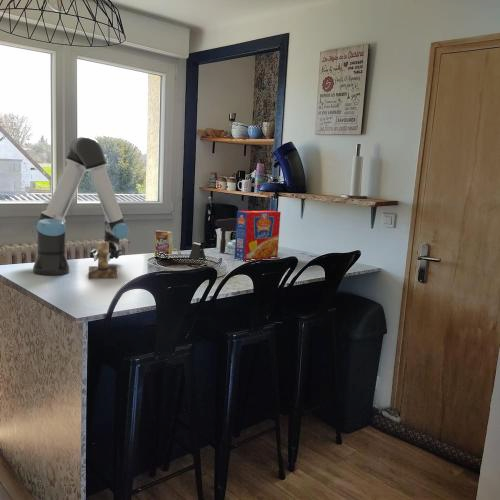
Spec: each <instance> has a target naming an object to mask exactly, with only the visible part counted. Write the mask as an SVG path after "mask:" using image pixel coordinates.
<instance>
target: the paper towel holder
mask: <svg viewBox="0 0 500 500" xmlns="http://www.w3.org/2000/svg"><path fill="white" fill-rule="evenodd" d="M236 223H237V217H236V218H231V217H230V218H225V219H216V220H215V223H214V225H215V226H216V227H220V232H221V236H220V237H221V239H220V242H219V244H220V245H219V253H220V252H223V253H222V254H225V253H226V251H227V250H231V251H235V240H236V239H233V240H229V241H228V242H227V244H226V233H227V232H236ZM226 247H227V248H226ZM226 249H227V250H226ZM231 251H230V252H231ZM224 252H225V253H224Z"/></svg>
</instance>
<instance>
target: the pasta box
mask: <svg viewBox="0 0 500 500" xmlns="http://www.w3.org/2000/svg"><path fill="white" fill-rule="evenodd" d="M281 213H282V212H281V211H276V210H237V211H236V218H237V223H236V231H235V239H234V240H235V252H234V258H233V259H234V260H235V259H238V260H237V261H239V260H243V261H246V260H251V259H255V261H259V260H258V259H264V260H271V259H270V258H271V257H277V258H278V255H279V253H278V252H279V240H280V239H279V238H280V229H281V228H280V227H281V226H280V225H281ZM243 261H242V262H243ZM246 262H247V261H246Z"/></svg>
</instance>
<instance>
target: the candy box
mask: <svg viewBox="0 0 500 500" xmlns="http://www.w3.org/2000/svg"><path fill="white" fill-rule="evenodd" d="M154 234H155V235H154V257H155V256H156V254H157V251H159V250H160V251H161V252H163V253H165V254H172V255H173V236H174V235H173V234H174V232H173V231H167V230H155V233H154Z"/></svg>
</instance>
